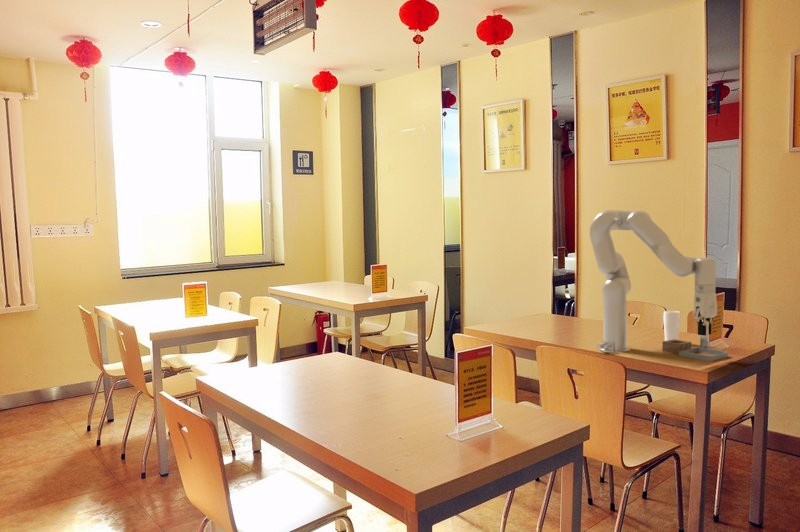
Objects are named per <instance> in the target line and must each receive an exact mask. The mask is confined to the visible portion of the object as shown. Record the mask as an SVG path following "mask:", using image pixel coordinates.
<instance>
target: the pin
mask: <svg viewBox="0 0 800 532" xmlns="http://www.w3.org/2000/svg"><path fill="white" fill-rule="evenodd" d="M702 321H703V319H702ZM705 325H706V335H705V336H704V335H699V336H700V339H699V340H700V343H699V344H700V345H699V347H700V348H702V349H710V348H709V345H710V344H709V343H710V341H709V338H710V334H709V322H708V320H705Z"/></svg>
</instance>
